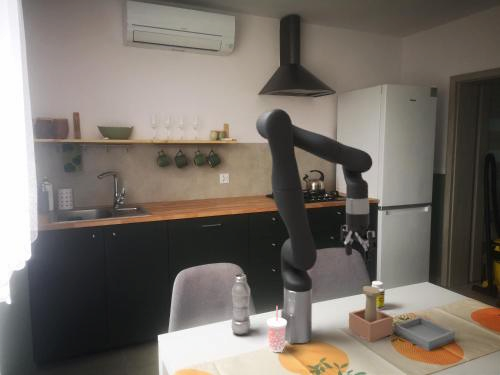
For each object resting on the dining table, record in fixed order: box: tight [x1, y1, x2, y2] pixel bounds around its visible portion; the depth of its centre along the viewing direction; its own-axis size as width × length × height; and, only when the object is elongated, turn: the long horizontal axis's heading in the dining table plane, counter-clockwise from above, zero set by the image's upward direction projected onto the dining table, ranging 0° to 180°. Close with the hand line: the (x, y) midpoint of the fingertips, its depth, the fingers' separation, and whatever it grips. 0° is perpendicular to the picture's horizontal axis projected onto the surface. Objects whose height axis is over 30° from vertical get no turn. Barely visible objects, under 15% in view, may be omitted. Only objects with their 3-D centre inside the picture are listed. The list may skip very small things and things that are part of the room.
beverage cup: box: [266, 305, 287, 352], centre depth 115 cm, size 6×6×14 cm
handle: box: [362, 285, 380, 323], centre depth 126 cm, size 5×6×15 cm
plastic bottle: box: [231, 273, 252, 335], centre depth 125 cm, size 6×7×20 cm
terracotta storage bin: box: [348, 308, 394, 343], centre depth 126 cm, size 11×10×6 cm
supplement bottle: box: [371, 280, 386, 311], centre depth 145 cm, size 6×6×10 cm
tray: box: [393, 316, 456, 352], centre depth 123 cm, size 13×13×3 cm
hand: (358, 258), depth 125 cm, fingers open, 8 cm apart
